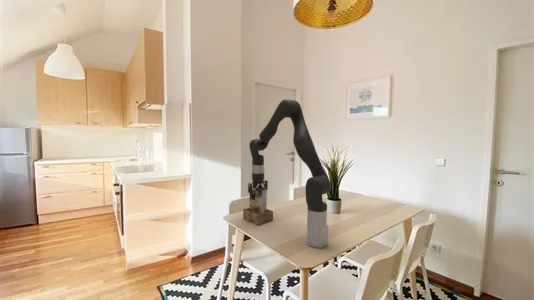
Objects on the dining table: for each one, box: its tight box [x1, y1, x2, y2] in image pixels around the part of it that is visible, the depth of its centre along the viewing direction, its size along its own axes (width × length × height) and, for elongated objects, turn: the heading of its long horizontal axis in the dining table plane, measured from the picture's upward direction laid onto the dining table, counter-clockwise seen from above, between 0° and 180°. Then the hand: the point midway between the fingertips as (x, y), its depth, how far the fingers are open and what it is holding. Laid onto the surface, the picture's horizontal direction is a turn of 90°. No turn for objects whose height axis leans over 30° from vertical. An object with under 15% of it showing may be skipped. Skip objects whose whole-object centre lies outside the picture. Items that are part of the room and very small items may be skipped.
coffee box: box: [249, 187, 268, 215], centre depth 148 cm, size 9×6×16 cm
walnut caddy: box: [242, 207, 274, 226], centre depth 149 cm, size 15×12×6 cm
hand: (258, 198), depth 148 cm, fingers closed on coffee box, 7 cm apart
